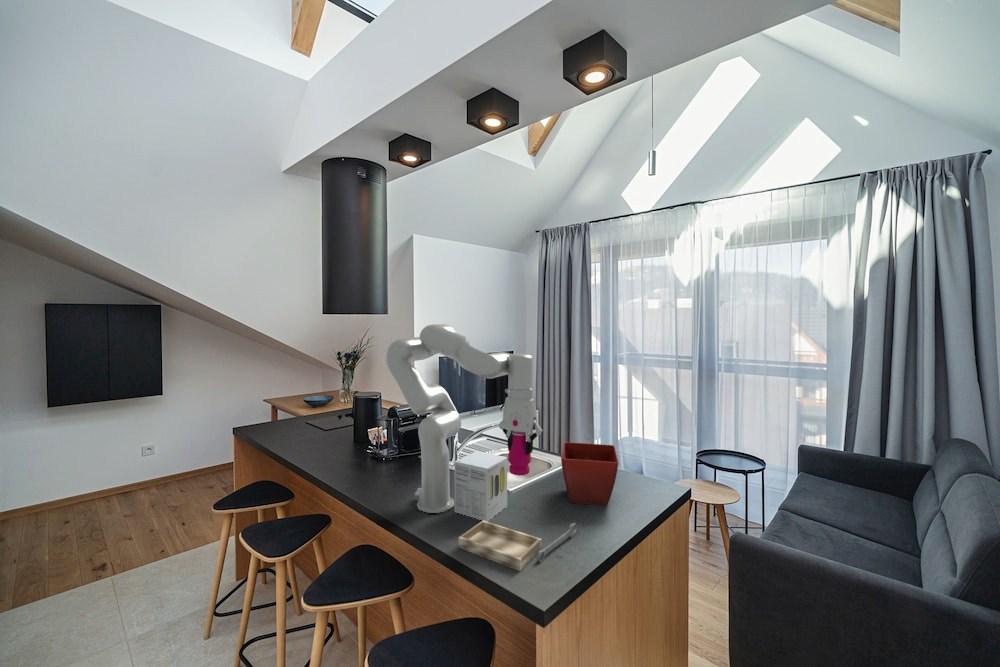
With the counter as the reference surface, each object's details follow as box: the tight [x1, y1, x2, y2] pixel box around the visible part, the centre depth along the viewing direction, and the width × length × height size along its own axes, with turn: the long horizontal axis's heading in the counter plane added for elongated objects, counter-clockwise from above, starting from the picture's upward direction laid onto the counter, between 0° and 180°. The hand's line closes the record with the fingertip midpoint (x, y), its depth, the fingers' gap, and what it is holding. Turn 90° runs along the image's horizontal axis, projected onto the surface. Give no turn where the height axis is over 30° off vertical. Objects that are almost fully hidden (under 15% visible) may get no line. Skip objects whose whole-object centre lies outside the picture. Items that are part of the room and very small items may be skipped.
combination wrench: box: [536, 522, 578, 563], centre depth 117 cm, size 4×1×20 cm
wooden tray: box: [458, 520, 543, 572], centre depth 116 cm, size 20×12×3 cm, turn 57°
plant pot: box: [560, 441, 619, 507], centre depth 149 cm, size 19×19×17 cm
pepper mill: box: [507, 420, 532, 476], centre depth 129 cm, size 7×7×20 cm
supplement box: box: [454, 450, 508, 522], centre depth 140 cm, size 13×13×18 cm
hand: (520, 451), depth 129 cm, fingers closed on pepper mill, 5 cm apart
